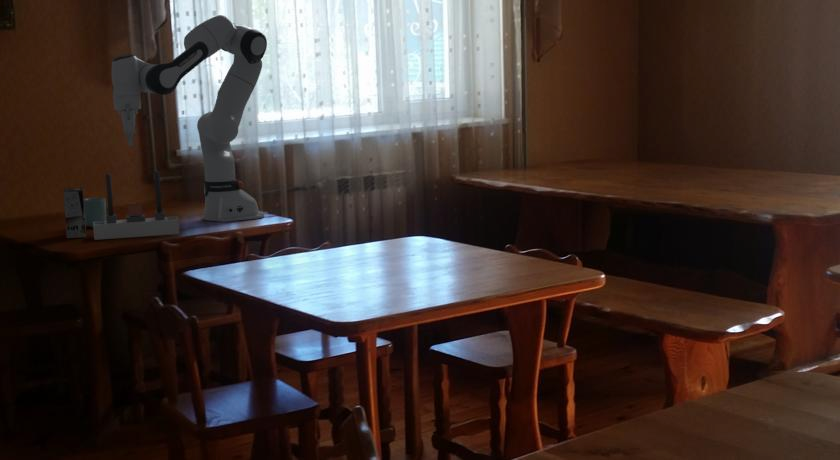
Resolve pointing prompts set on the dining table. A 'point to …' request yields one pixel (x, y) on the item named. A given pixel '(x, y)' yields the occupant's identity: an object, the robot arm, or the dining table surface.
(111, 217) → the cord
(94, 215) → the cup
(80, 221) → the coffee box
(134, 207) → the block
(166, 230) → the power strip
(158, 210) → the cord
